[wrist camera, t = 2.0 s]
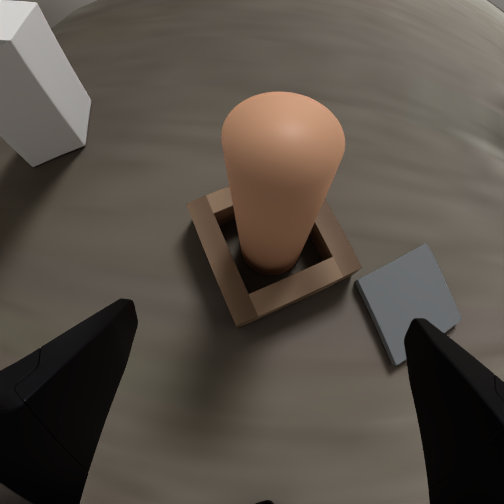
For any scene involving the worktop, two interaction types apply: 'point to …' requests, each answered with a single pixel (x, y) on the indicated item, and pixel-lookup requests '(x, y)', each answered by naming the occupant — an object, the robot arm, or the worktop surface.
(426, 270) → the slate rubber pad
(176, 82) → the worktop surface
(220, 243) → the walnut socket block
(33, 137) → the milk carton
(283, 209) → the peach rounded cylinder
